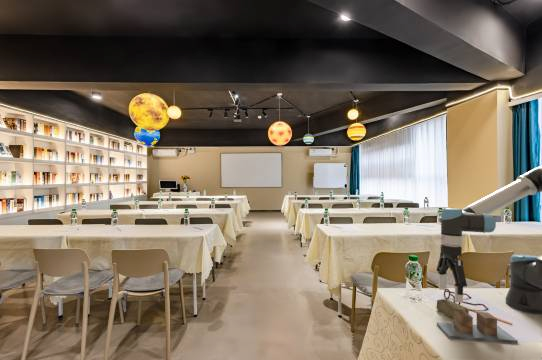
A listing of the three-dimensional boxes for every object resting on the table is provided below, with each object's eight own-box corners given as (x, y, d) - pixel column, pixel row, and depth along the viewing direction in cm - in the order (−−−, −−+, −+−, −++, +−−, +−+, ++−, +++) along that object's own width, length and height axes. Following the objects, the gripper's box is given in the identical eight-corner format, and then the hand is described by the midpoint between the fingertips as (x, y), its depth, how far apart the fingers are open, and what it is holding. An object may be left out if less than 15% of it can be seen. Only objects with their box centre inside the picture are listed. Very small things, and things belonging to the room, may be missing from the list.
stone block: (459, 322, 113) (459, 309, 113) (434, 310, 124) (434, 298, 124) (470, 320, 115) (470, 308, 115) (445, 308, 126) (445, 297, 126)
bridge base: (498, 328, 108) (498, 310, 108) (517, 343, 98) (517, 323, 98) (436, 324, 111) (436, 306, 111) (449, 338, 101) (449, 318, 101)
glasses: (443, 297, 139) (443, 287, 139) (471, 298, 138) (471, 288, 138) (458, 309, 126) (458, 298, 126) (489, 310, 125) (489, 299, 125)
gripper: (429, 238, 133) (428, 284, 132) (456, 251, 108) (455, 307, 108) (446, 239, 132) (445, 285, 131) (478, 252, 107) (477, 309, 107)
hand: (450, 295), depth 120 cm, fingers open, 13 cm apart
